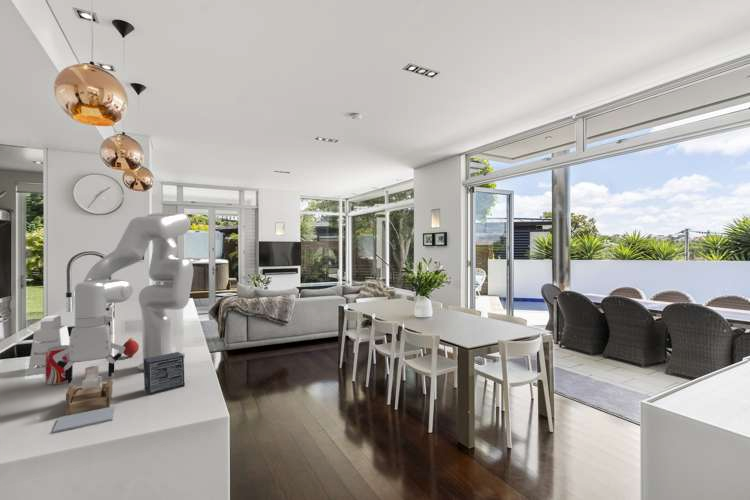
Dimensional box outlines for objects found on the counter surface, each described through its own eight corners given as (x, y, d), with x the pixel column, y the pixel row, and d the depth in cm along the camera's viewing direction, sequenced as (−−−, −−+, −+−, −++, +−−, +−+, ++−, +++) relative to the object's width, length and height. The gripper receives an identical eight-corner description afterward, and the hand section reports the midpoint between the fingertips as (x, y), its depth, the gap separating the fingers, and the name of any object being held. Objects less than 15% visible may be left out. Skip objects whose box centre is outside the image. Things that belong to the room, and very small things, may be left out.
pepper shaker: (97, 400, 109) (97, 368, 109) (81, 402, 108) (81, 370, 108) (102, 395, 113) (102, 364, 113) (87, 397, 112) (86, 366, 112)
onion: (132, 359, 150) (132, 339, 150) (118, 359, 150) (118, 339, 150) (141, 354, 156) (141, 336, 156) (128, 354, 156) (128, 336, 156)
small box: (179, 381, 125) (178, 350, 125) (185, 386, 120) (184, 354, 120) (143, 390, 117) (143, 357, 117) (148, 395, 113) (148, 362, 112)
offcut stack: (105, 401, 109) (105, 385, 109) (103, 408, 104) (102, 391, 104) (74, 406, 105) (74, 390, 105) (70, 414, 101) (70, 396, 101)
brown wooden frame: (112, 390, 116) (112, 372, 116) (109, 407, 104) (109, 386, 104) (73, 397, 111) (73, 378, 111) (66, 415, 99) (65, 394, 99)
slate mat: (114, 407, 104) (114, 406, 104) (112, 420, 96) (112, 418, 96) (59, 419, 97) (59, 417, 97) (52, 433, 90) (52, 431, 90)
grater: (27, 375, 132) (26, 320, 132) (40, 366, 141) (39, 315, 141) (63, 371, 136) (62, 318, 136) (73, 363, 146) (73, 313, 145)
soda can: (56, 386, 121) (56, 350, 120) (39, 385, 122) (39, 349, 122) (78, 379, 127) (77, 345, 127) (61, 377, 129) (61, 344, 129)
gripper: (125, 317, 118) (125, 370, 118) (55, 323, 109) (55, 380, 108) (124, 321, 112) (124, 376, 112) (50, 327, 102) (50, 388, 102)
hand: (90, 378), depth 110 cm, fingers open, 9 cm apart
